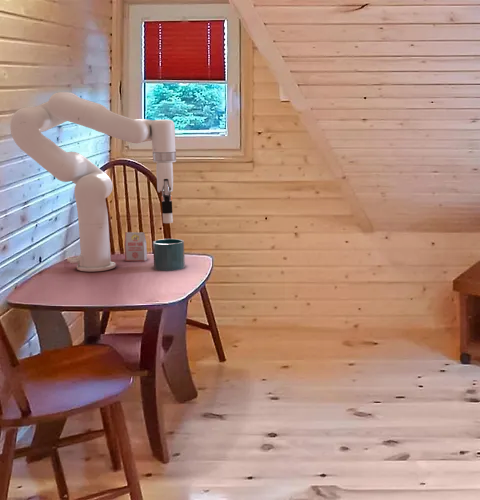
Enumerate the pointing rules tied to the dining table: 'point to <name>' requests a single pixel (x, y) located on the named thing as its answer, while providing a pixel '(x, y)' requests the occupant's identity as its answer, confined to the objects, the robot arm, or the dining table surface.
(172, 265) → the mug
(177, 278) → the dining table surface
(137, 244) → the white printed carton
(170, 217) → the glue stick
